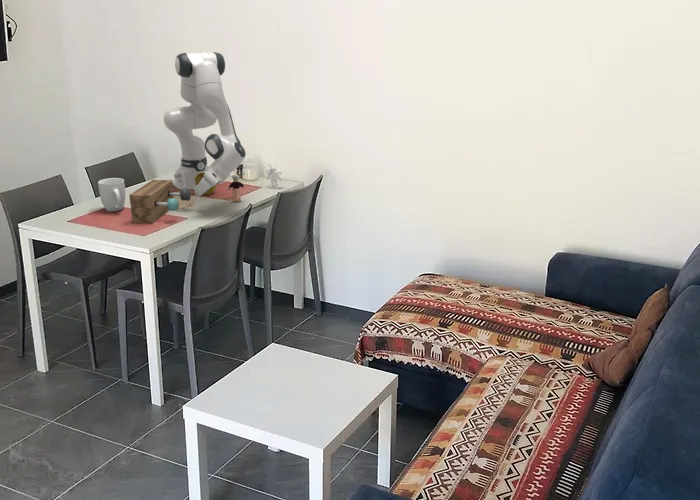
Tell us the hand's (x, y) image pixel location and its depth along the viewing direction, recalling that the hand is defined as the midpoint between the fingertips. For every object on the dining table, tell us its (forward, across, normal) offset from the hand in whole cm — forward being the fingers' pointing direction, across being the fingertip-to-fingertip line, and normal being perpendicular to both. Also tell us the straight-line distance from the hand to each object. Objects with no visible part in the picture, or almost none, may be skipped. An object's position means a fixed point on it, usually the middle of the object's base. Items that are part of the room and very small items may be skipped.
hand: (197, 194), depth 331 cm
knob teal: (+7, +15, -4) cm, 17 cm away
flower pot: (+9, -27, +2) cm, 28 cm away
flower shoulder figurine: (-12, -40, +22) cm, 48 cm away
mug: (+31, +4, -21) cm, 38 cm away
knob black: (+7, 0, -4) cm, 8 cm away
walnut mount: (+17, +8, -7) cm, 20 cm away
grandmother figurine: (-4, -16, +14) cm, 22 cm away
